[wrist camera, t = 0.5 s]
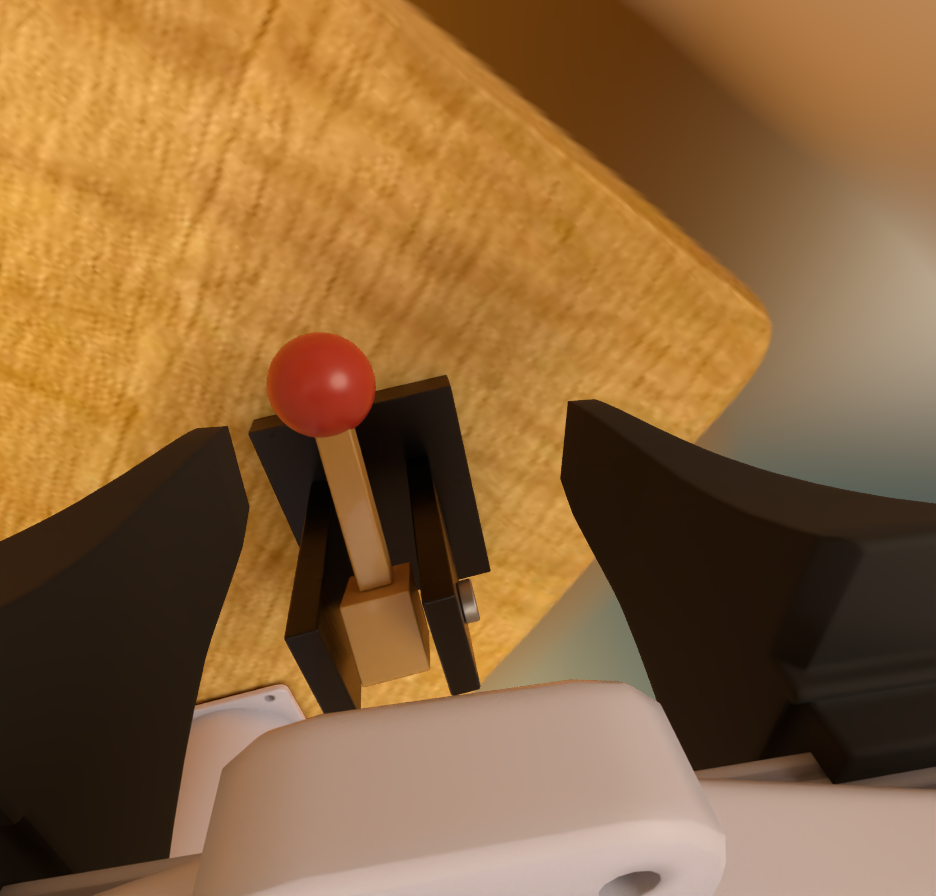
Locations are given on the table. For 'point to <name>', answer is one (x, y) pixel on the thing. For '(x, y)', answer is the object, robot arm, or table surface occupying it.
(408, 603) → the switch lever
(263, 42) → the table surface
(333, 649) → the switch bracket
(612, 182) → the table surface
